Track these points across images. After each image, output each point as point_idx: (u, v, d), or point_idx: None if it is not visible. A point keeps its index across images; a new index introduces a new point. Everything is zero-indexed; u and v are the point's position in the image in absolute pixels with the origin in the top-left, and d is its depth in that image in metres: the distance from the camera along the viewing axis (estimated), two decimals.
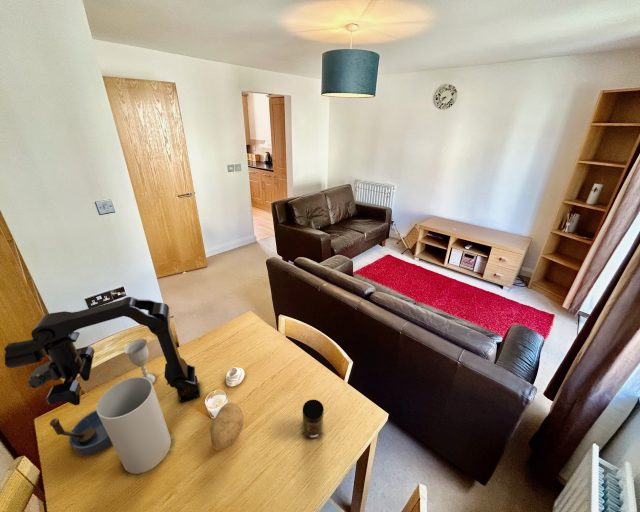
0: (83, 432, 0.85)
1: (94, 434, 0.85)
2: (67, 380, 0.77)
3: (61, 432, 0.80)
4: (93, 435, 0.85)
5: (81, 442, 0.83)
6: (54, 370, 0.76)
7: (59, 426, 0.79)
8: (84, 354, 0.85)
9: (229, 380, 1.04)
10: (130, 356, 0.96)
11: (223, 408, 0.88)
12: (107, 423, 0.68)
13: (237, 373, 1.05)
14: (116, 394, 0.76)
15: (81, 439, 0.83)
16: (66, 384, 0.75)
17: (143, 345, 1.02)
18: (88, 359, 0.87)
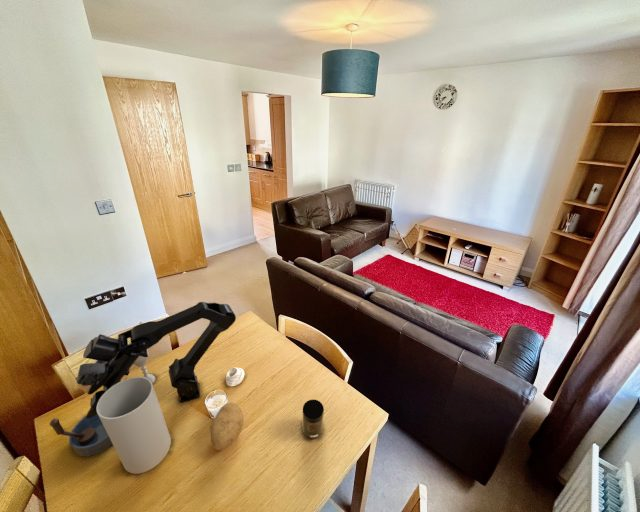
0: (83, 432, 0.85)
1: (94, 434, 0.85)
2: None
3: (61, 432, 0.80)
4: (93, 435, 0.85)
5: (81, 442, 0.83)
6: (106, 375, 0.79)
7: (59, 426, 0.79)
8: None
9: (229, 380, 1.04)
10: None
11: (223, 408, 0.88)
12: (107, 423, 0.68)
13: (237, 373, 1.05)
14: (116, 394, 0.76)
15: (81, 439, 0.83)
16: None
17: None
18: None
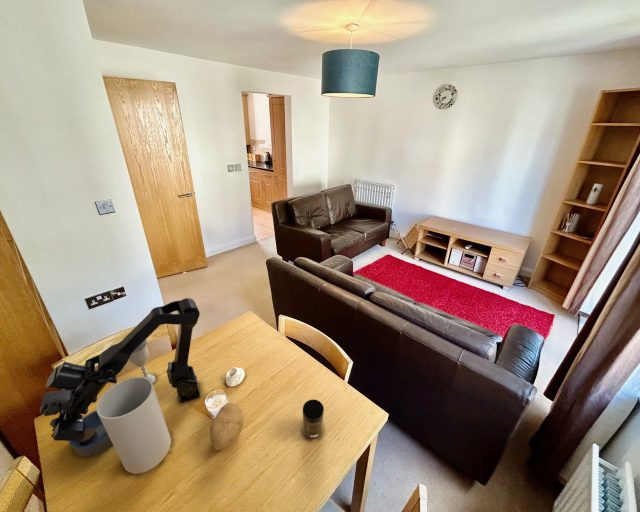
0: None
1: (94, 434, 0.85)
2: (74, 418, 0.77)
3: None
4: (93, 435, 0.85)
5: (81, 442, 0.83)
6: None
7: None
8: None
9: (229, 380, 1.04)
10: (130, 356, 0.96)
11: (223, 408, 0.88)
12: (107, 423, 0.68)
13: (237, 373, 1.05)
14: (116, 394, 0.76)
15: (81, 439, 0.83)
16: (78, 423, 0.76)
17: (143, 345, 1.02)
18: None
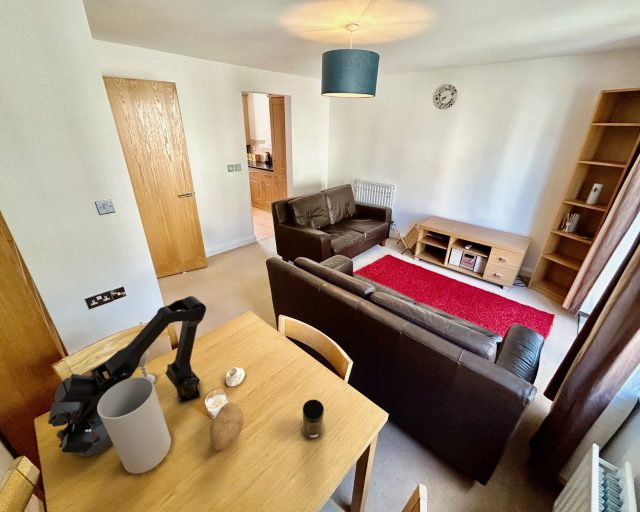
0: None
1: (97, 434, 0.85)
2: (83, 428, 0.74)
3: None
4: None
5: None
6: (81, 413, 0.74)
7: None
8: None
9: (229, 380, 1.04)
10: None
11: (223, 408, 0.88)
12: (108, 423, 0.68)
13: (237, 373, 1.05)
14: (117, 393, 0.76)
15: None
16: (86, 433, 0.73)
17: None
18: None
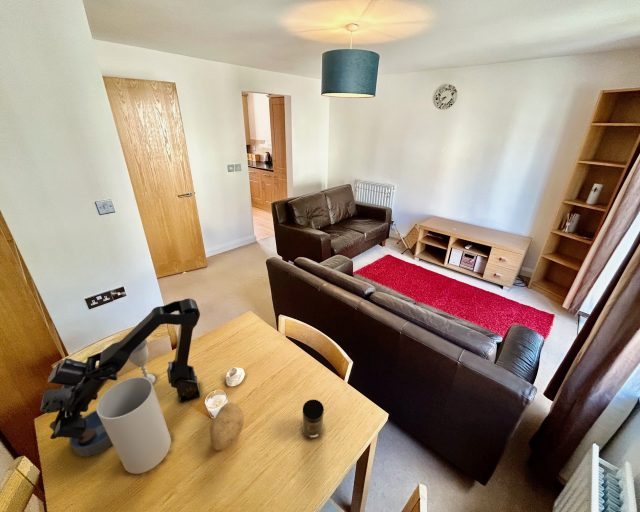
0: None
1: (94, 434, 0.85)
2: (75, 415, 0.77)
3: None
4: (94, 435, 0.85)
5: (82, 443, 0.83)
6: (73, 400, 0.77)
7: None
8: None
9: (229, 380, 1.04)
10: (130, 356, 0.96)
11: (223, 408, 0.88)
12: (107, 423, 0.68)
13: (237, 373, 1.05)
14: (116, 394, 0.76)
15: (82, 440, 0.83)
16: (79, 419, 0.76)
17: (143, 345, 1.02)
18: None
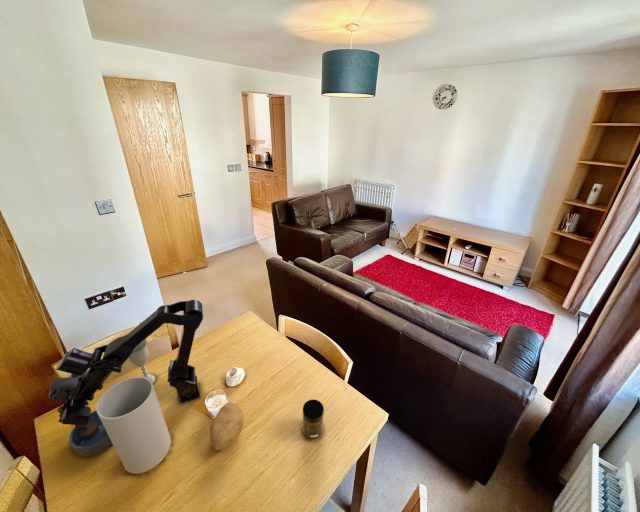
0: (88, 425, 0.87)
1: (93, 433, 0.86)
2: (81, 404, 0.80)
3: None
4: (91, 434, 0.85)
5: None
6: (79, 389, 0.80)
7: None
8: None
9: (229, 380, 1.04)
10: (130, 356, 0.96)
11: (223, 408, 0.88)
12: (107, 423, 0.68)
13: (237, 373, 1.05)
14: (116, 394, 0.76)
15: (82, 432, 0.85)
16: (84, 408, 0.79)
17: (143, 345, 1.02)
18: None
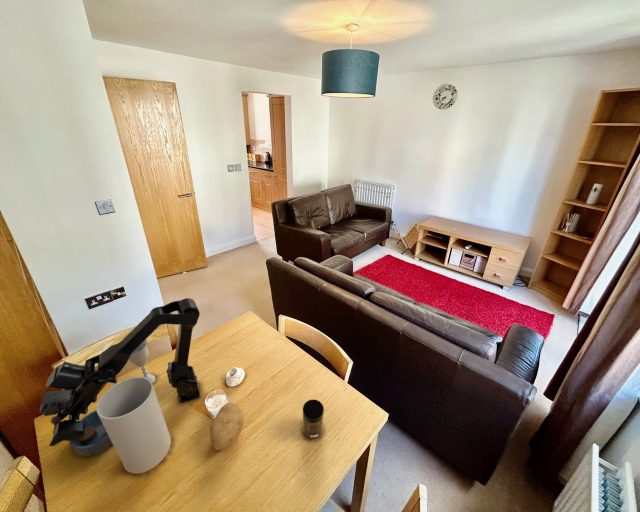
0: (84, 430, 0.86)
1: (94, 434, 0.85)
2: (74, 418, 0.77)
3: None
4: (92, 435, 0.85)
5: (80, 441, 0.83)
6: (72, 403, 0.77)
7: None
8: None
9: (229, 380, 1.04)
10: (130, 356, 0.96)
11: (223, 408, 0.88)
12: (107, 423, 0.68)
13: (237, 373, 1.05)
14: (116, 394, 0.76)
15: (81, 438, 0.84)
16: (77, 423, 0.76)
17: (143, 345, 1.02)
18: None
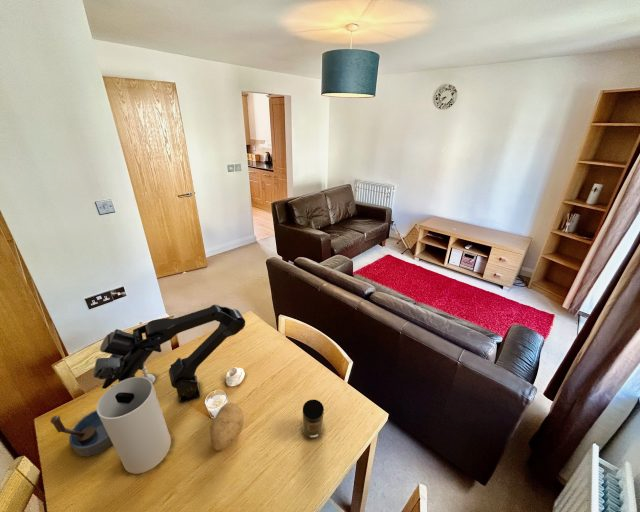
0: (84, 431, 0.86)
1: (94, 434, 0.85)
2: None
3: (61, 430, 0.80)
4: (92, 435, 0.85)
5: (80, 441, 0.83)
6: None
7: (59, 424, 0.80)
8: None
9: (229, 380, 1.04)
10: None
11: (223, 408, 0.88)
12: (107, 423, 0.68)
13: (237, 373, 1.05)
14: None
15: (81, 438, 0.84)
16: None
17: None
18: None
